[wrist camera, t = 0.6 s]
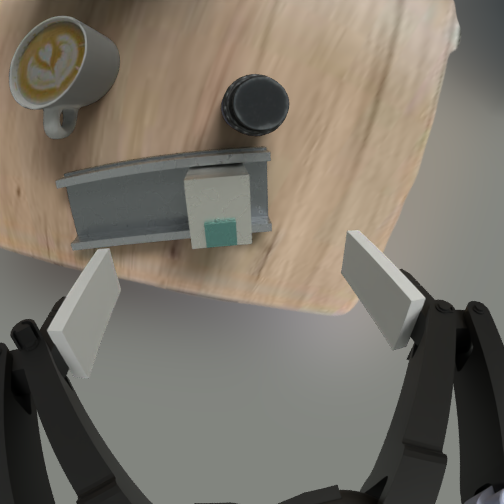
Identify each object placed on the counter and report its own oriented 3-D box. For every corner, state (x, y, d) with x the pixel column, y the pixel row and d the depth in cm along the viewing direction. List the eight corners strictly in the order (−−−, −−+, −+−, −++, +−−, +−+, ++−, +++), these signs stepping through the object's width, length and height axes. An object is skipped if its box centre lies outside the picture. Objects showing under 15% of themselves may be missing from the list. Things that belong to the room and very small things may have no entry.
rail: (67, 172, 31) (29, 193, 22) (265, 146, 33) (282, 158, 25) (82, 240, 36) (54, 276, 27) (266, 222, 38) (282, 257, 29)
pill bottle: (256, 140, 33) (275, 152, 23) (211, 117, 31) (209, 119, 21) (281, 98, 31) (310, 92, 21) (236, 74, 29) (246, 56, 19)
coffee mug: (65, 35, 22) (25, 20, 13) (130, 36, 24) (102, 13, 16) (41, 129, 27) (-4, 140, 19) (101, 137, 30) (64, 148, 21)
